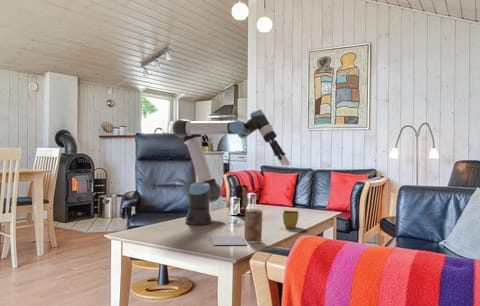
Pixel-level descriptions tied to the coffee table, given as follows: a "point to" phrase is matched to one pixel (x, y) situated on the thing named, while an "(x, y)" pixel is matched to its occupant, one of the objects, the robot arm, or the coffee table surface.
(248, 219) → the walnut block
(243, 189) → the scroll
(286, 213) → the flower pot
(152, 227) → the coffee table surface
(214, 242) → the mat
